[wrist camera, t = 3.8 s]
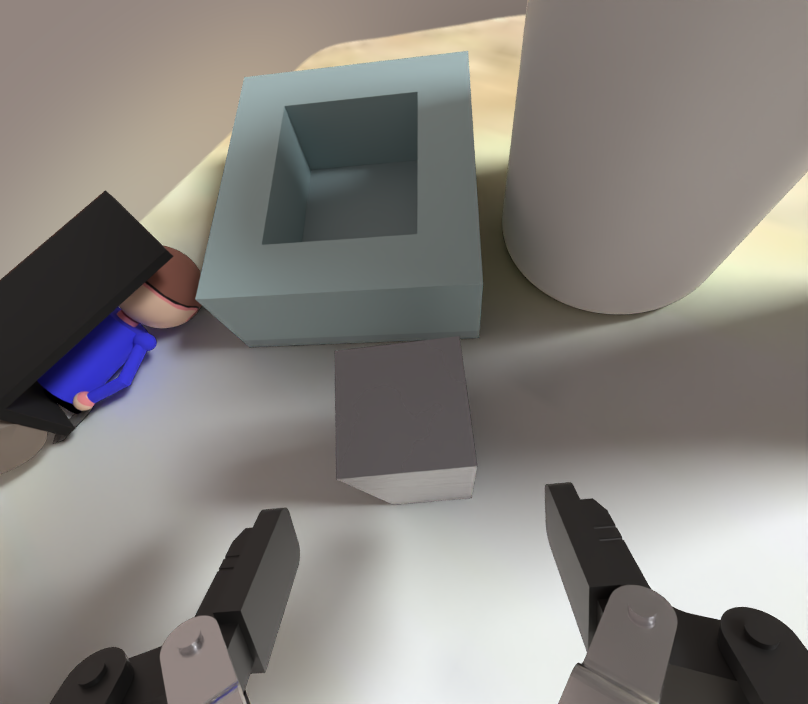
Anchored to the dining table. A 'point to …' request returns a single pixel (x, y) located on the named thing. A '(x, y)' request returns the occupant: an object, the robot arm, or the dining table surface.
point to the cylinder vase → (650, 142)
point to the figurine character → (83, 321)
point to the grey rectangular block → (404, 421)
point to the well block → (349, 207)
